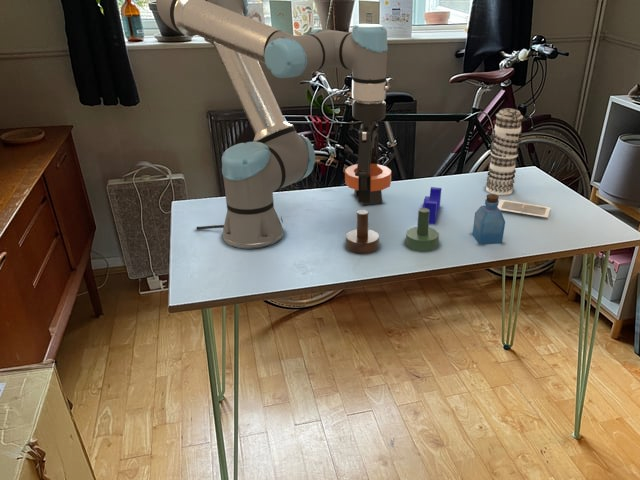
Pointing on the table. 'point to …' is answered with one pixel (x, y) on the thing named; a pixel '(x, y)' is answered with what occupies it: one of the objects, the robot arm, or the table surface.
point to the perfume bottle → (489, 222)
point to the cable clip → (433, 203)
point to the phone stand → (371, 196)
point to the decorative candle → (504, 151)
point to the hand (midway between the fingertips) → (368, 192)
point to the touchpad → (524, 208)
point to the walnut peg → (362, 236)
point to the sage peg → (422, 234)
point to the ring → (378, 177)
